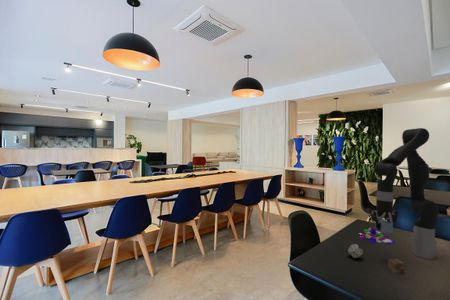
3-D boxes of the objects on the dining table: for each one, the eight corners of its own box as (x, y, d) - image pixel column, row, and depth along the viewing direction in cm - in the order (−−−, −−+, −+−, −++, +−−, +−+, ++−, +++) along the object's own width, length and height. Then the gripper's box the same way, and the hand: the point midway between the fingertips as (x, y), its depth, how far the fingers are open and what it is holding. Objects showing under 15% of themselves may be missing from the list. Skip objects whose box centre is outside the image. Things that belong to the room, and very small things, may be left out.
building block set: (385, 248, 139) (385, 241, 139) (352, 236, 156) (352, 230, 156) (401, 240, 152) (401, 233, 152) (369, 230, 169) (369, 224, 169)
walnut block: (396, 268, 114) (396, 258, 114) (403, 273, 109) (404, 263, 109) (388, 268, 114) (388, 258, 114) (395, 273, 109) (395, 263, 109)
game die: (358, 265, 123) (369, 256, 117) (343, 258, 124) (353, 249, 118) (357, 252, 130) (366, 243, 124) (342, 245, 131) (351, 236, 125)
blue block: (384, 228, 123) (385, 220, 123) (392, 232, 118) (392, 223, 118) (375, 228, 123) (375, 219, 123) (382, 232, 118) (382, 223, 118)
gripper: (392, 198, 124) (391, 227, 124) (367, 197, 124) (366, 227, 124) (403, 201, 117) (402, 232, 117) (376, 200, 117) (375, 232, 117)
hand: (383, 229), depth 121 cm, fingers closed on blue block, 5 cm apart
